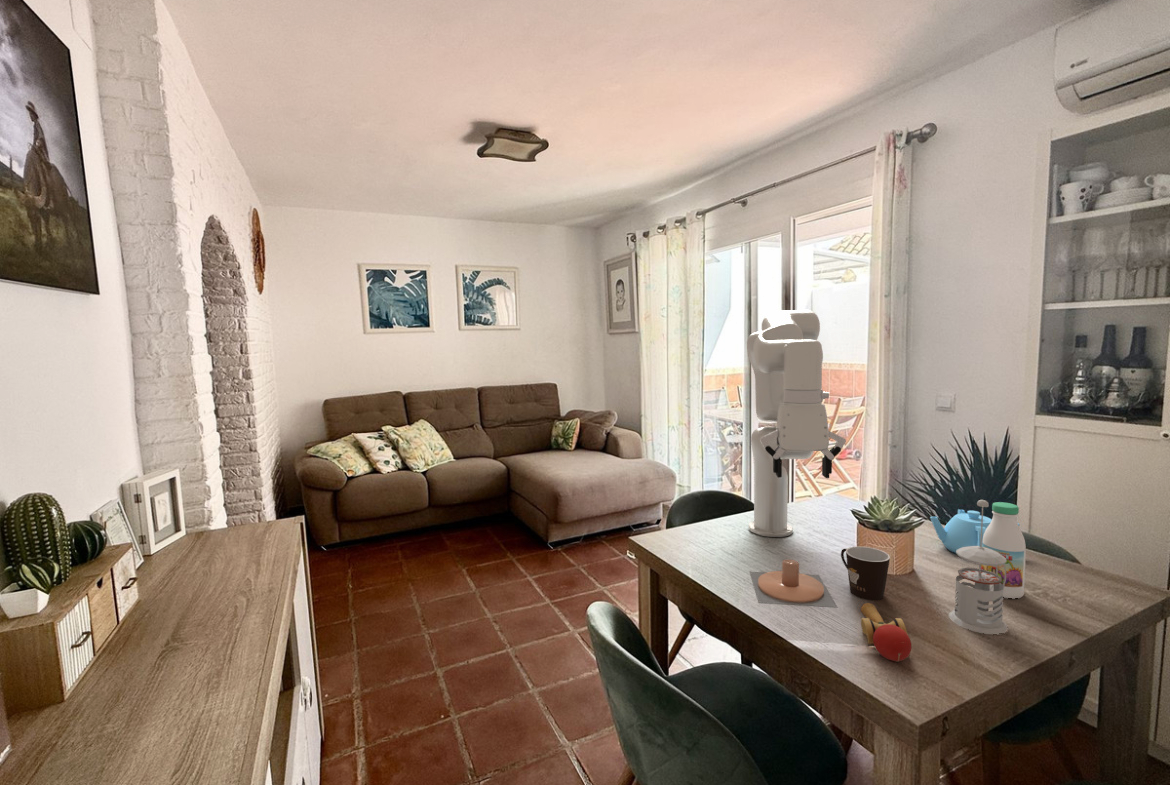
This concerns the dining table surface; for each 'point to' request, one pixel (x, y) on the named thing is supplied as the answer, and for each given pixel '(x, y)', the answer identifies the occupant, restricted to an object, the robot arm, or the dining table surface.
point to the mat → (764, 598)
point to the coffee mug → (866, 571)
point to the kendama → (885, 634)
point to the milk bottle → (1007, 548)
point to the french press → (980, 590)
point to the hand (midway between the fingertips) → (801, 476)
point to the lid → (791, 584)
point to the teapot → (962, 530)
